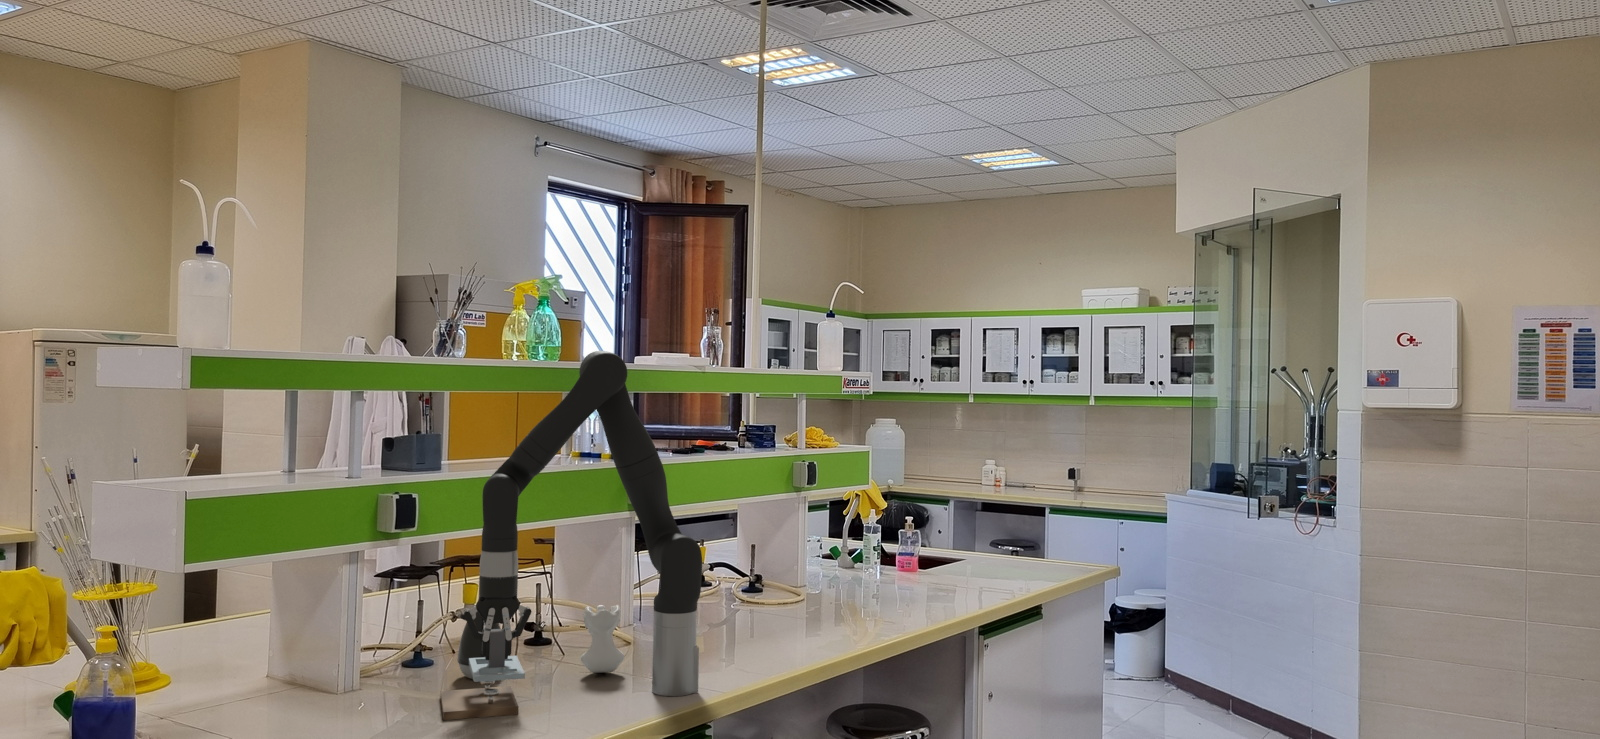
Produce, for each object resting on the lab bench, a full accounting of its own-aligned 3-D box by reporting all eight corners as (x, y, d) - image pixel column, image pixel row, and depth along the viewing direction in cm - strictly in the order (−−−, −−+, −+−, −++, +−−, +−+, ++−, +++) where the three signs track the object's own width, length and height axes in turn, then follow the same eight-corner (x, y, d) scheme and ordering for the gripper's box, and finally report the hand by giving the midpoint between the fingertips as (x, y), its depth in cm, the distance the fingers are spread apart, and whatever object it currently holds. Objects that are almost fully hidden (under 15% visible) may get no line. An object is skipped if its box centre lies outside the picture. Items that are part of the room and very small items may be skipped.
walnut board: (510, 693, 233) (511, 673, 233) (518, 714, 218) (518, 692, 218) (440, 698, 228) (440, 678, 228) (443, 720, 213) (443, 698, 213)
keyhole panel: (516, 660, 233) (517, 621, 233) (524, 678, 218) (525, 637, 218) (468, 663, 230) (469, 624, 230) (473, 681, 215) (475, 640, 215)
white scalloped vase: (581, 680, 244) (582, 611, 245) (577, 668, 255) (579, 602, 256) (625, 677, 247) (626, 610, 247) (620, 666, 258) (621, 601, 258)
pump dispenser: (447, 676, 246) (449, 607, 246) (490, 668, 253) (491, 601, 254) (470, 685, 239) (471, 614, 239) (513, 677, 246) (515, 608, 246)
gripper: (532, 569, 230) (529, 652, 230) (461, 571, 226) (458, 656, 225) (536, 574, 223) (533, 661, 223) (463, 576, 219) (460, 665, 218)
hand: (496, 658), depth 224 cm, fingers closed on keyhole panel, 3 cm apart
